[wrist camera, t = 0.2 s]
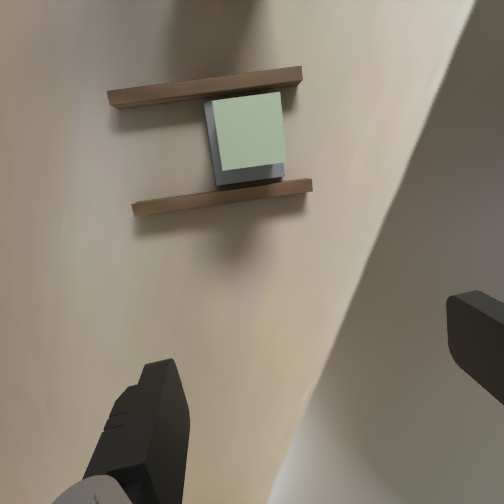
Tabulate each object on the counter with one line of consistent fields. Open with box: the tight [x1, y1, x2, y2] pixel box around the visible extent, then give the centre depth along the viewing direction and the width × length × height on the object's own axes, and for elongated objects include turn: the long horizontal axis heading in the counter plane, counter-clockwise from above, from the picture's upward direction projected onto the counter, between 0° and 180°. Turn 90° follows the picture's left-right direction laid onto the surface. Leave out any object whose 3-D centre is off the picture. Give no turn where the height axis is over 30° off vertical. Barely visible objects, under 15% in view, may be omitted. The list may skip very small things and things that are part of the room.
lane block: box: [204, 92, 287, 186], centre depth 31 cm, size 8×7×10 cm
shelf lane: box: [107, 66, 313, 216], centre depth 35 cm, size 12×18×2 cm, turn 98°
